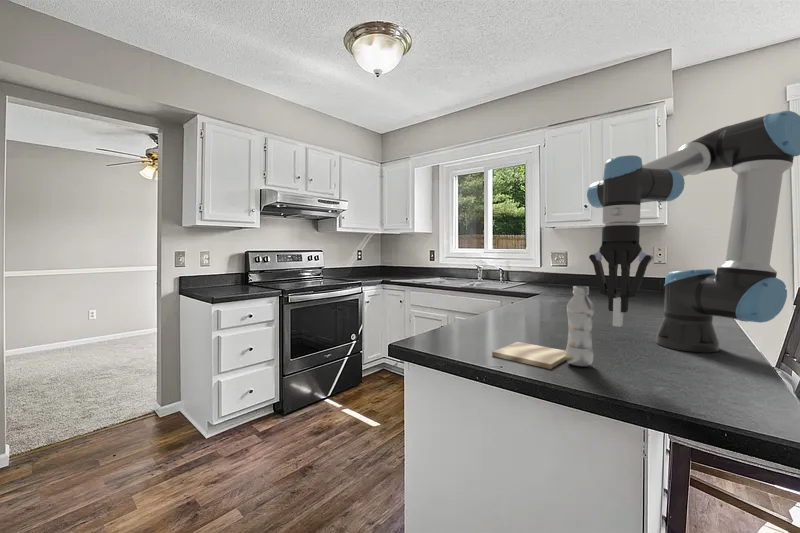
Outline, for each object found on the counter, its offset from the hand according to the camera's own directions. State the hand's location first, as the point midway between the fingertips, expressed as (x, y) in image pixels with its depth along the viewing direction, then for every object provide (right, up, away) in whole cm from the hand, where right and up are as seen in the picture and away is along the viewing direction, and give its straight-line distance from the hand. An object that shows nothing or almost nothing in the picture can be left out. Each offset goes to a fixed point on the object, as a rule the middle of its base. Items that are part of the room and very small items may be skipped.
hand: (617, 325), depth 87 cm
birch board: (-15, -11, +14) cm, 23 cm away
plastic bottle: (-6, -11, +6) cm, 14 cm away
